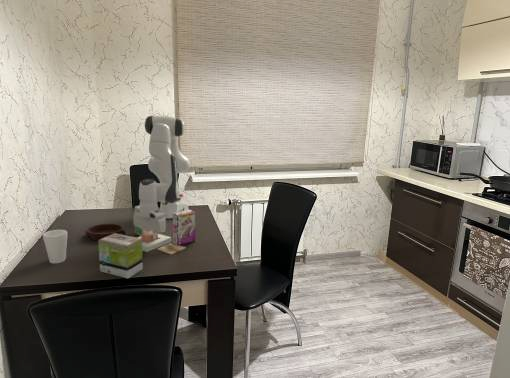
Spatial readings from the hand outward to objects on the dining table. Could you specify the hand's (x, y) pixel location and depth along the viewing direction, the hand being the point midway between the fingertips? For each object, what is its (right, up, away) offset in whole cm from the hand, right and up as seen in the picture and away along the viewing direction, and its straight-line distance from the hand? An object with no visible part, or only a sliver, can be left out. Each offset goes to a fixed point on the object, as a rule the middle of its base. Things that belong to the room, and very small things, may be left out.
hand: (149, 237), depth 185 cm
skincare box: (-7, 0, +15) cm, 17 cm away
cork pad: (+12, -5, -5) cm, 14 cm away
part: (0, -3, +1) cm, 3 cm away
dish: (-26, -1, +9) cm, 28 cm away
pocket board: (0, -3, +1) cm, 4 cm away
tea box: (-3, -11, -31) cm, 32 cm away
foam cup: (-35, -8, -22) cm, 42 cm away
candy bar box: (+17, -3, +4) cm, 18 cm away
